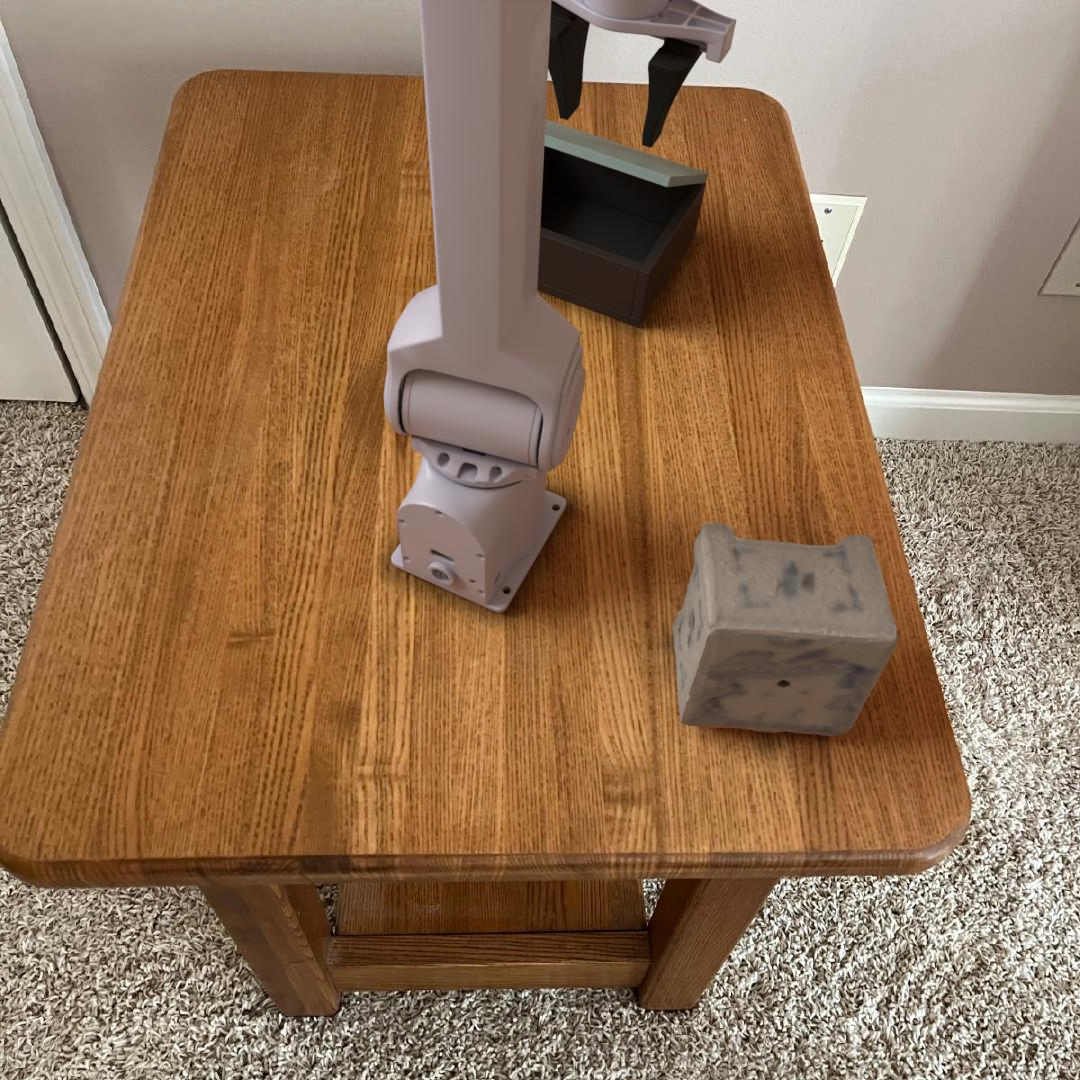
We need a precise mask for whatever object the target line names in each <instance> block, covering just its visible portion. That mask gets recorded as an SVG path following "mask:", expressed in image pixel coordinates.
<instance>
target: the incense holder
mask: <svg viewBox="0 0 1080 1080" xmlns="http://www.w3.org/2000/svg"><path fill="white" fill-rule="evenodd" d="M693 543H694V544H693V549H692V551H693V560H694V561H693V568H692V571H691V575H690V577H689V581H688V583H687V587H686V594H685V597H684V599H683V600H684V601H683V603H682V608H680V610H679V611H676V617H675V620H674V621H673V624H672V626H671V630H672V635H673V650H674V655H675V671H676V691H677V705H678V706H677V707H678V713H679V714H678V715H679V723H681V724H683V725H685V726H689V727H700V728H701V727H702V728H719V729H720V728H721V729H723V728H725V729H727V728H728V729H729V728H731V729H732V728H733V729H743V730H750V731H751V730H752V731H754V732H756V733H757V732H758V733H764V734H765V733H767V734H769V733H770V734H771V733H774V734H776V733H782V732H786V733H796V734H804V735H805V734H807V735H819V736H824V737H825V736H826V737H828V736H829V737H838V736H841V735H845V734H847V733H848V732H849V731H850V730H852V729H853V727H854V725H855V723H856V721H857V720H858V718H859V716H860V714H861V712H862V710H863V707H864V705H865V703H866V701H867V700H868V698H869V697H870V695H871V693H872V691H873V689H874V687H875V686H876V684H877V682H878V681H879V678H880V677H881V675H882V673H883V671H884V670H885V668H886V667H887V665H888V663H889V661H890V658H891V656H892V655H893V654H894V652H895V650H896V648H897V646H898V644H899V635H898V630H897V625H896V622H895V618H894V615H893V611H892V606H891V602H890V599H889V595H888V590H887V587H886V584H885V579H884V577H883V574H882V573H883V572H882V569H881V564H880V562H879V560H878V556H877V555H878V554H877V552H876V548H875V540H874V539H873V538H872V537H871V536H870V535H865V534H858V533H853V534H851V535H848V536H845V537H841V539H840V540H839V541H838V543H836V544H825V545H824V544H822V545H819V544H818V545H814V544H802V543H798V542H797V543H796V542H789V541H787V542H786V541H775V540H771V539H767V540H760V539H755V538H745V537H744V538H743V537H738V536H737V535H736V534H735V532H734V531H733V529H732V528H731V526H730V525H727V524H724V523H719V522H713V523H712V522H706V523H703V524H702V526H701V530H700V531H699V534H698V535H697V537H696V538H695V540H694V542H693Z"/></svg>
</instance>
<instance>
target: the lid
mask: <svg viewBox="0 0 1080 1080" xmlns="http://www.w3.org/2000/svg"><path fill="white" fill-rule="evenodd" d="M544 146H547V147H549V148H552V149H555V150H558V151H561V152H564V153H567V154H570V155H573V156H576V157H579V158H582V159H585V160H588V161H591V162H594V163H597V164H600V165H603V166H606V167H608V168H611V169H614V170H617V171H620V172H623V173H626V174H629V175H632V176H635V177H638V178H641V179H644V180H647V181H650V182H653V183H656V184H659V185H662V186H665V187H674V186H682V185H690V184H698V183H706V184H707V181H708V177H709V175H710V174H709V172H707V171H703V170H700V169H697V168H694V167H691V166H688V165H685V164H682V163H679V162H676V161H674V160H670V159H667V158H663V157H661V156H658V155H654V154H651V153H648V152H646V151H643V150H640V149H638V148H637V149H636V148H635V147H630V146H628V145H626V144H623V143H618V142H616V141H613V140H610V139H607V138H604V137H602V136H598V135H594V134H592V133H590V132H589V133H588V132H585V131H583V130H579V129H577V128H575V127H570V126H568V125H564V124H563V123H559V122H556V121H554V120H549V119H546V121H545V141H544Z"/></svg>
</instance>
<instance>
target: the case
mask: <svg viewBox="0 0 1080 1080" xmlns="http://www.w3.org/2000/svg"><path fill="white" fill-rule="evenodd" d="M706 186H707V182H706V183H698V184H690V185H682V186H674V187H665V186H662V185H659V184H656V183H653V182H650V181H647V180H644V179H641V178H638V177H635V176H632V175H629V174H626V173H623V172H620V171H617V170H614V169H611V168H608V167H606V166H603V165H600V164H597V163H594V162H591V161H588V160H585V159H582V158H579V157H576V156H573V155H570V154H567V153H564V152H561V151H558V150H555V149H552V148H549V147H547V146H544V162H543V182H542V203H541V223H540V244H539V264H538V285H537V291H539V292H542V293H545V294H547V295H549V296H552V297H555V298H558V299H561V300H563V301H566V302H569V303H571V304H574V305H576V306H579V307H581V308H585V309H586V310H587V309H588V310H590V311H593V312H595V313H598V314H601V315H604V316H606V317H609V318H612V319H614V320H616V321H619V322H623V323H625V324H627V325H631V326H633V327H635V328H638V329H639V328H640V327H641V326H642V325H643V323H644V321H645V319H646V318H647V316H648V315H649V313H650V311H651V309H652V308H653V307H654V305H655V303H656V301H657V300H658V298H659V297H660V295H661V294H662V292H663V290H664V288H666V285H667V283H668V282H669V280H670V279H671V277H672V275H673V274H674V272H675V270H676V269H677V267H678V266H679V264H680V262H681V261H682V259H683V258H684V256H685V255H686V253H687V251H688V250H689V248H690V246H691V245H692V243H693V241H694V239H695V237H696V233H697V228H698V224H699V219H700V215H701V210H702V205H703V201H704V196H705V191H706Z"/></svg>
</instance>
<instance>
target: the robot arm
mask: <svg viewBox="0 0 1080 1080" xmlns="http://www.w3.org/2000/svg"><path fill="white" fill-rule="evenodd" d="M418 9H419V10H418V12H419V25H420V41H421V56H422V71H423V86H424V102H425V118H426V131H427V149H428V161H429V179H430V180H429V181H430V190H431V191H430V193H431V194H430V195H431V208H432V222H433V238H434V239H433V240H434V241H433V242H434V253H435V254H434V255H435V271H436V272H435V273H436V284H434V285H432V286H429V287H427V288H425V289H422V290H421V291H419V292H417V293H415V295H414V296H413V297H412V298H411V299H410V300H409V301H408V303H407V304H406V306H405V308H404V309H403V311H402V312H401V314H400V315H399V317H398V319H397V320H396V324H395V326H394V327H393V331H391V335H390V336H389V337H390V338H389V340H388V342H387V346H386V347H387V348H386V357H387V359H386V360H387V361H386V363H387V369H386V370H387V372H386V376H385V380H384V381H385V382H384V390H383V408H384V413H385V414H384V415H385V416H386V419H387V421H388V423H389V426H390V428H391V429H392V431H393V432H394V433H396V434H399V435H404V436H408V435H410V439H411V440H410V441H411V450H412V451H414V452H417V453H419V454H421V459H420V460H421V461H420V463H419V468H418V471H417V474H416V477H415V479H414V482H413V484H412V485H411V487H410V489H409V490H408V493H407V495H406V496H405V498H404V499H403V500H402V502H401V503H400V505H399V506H398V509H397V512H396V524H397V532H398V538H399V544H398V546H397V547H396V549H395V550H394V551H393V553H392V554H391V557H390V560H391V564H392V566H393V567H396V568H397V569H399V570H402V571H404V572H406V573H408V574H411V575H413V576H415V577H417V578H419V579H422V580H423V581H426V582H428V583H430V584H433V585H434V586H437V587H439V588H441V589H443V590H445V591H448V592H450V593H453V594H455V595H457V596H459V597H461V598H462V599H463V598H464V599H466V600H468V601H471V602H472V603H474V604H477V605H478V606H481V607H483V608H486V609H488V610H490V611H492V612H494V613H497V614H502V613H503V612H505V611H506V610H508V607H509V606H510V604H511V602H512V600H513V599H514V597H515V595H516V594H517V592H518V591H519V588H520V587H521V585H522V583H523V582H524V580H525V578H526V576H527V575H528V574H529V571H530V570H531V568H532V566H533V565H534V563H535V561H536V559H537V558H538V556H539V554H540V552H541V551H542V549H543V548H544V546H545V545H546V542H547V540H548V539H549V538H550V536H551V534H552V532H553V531H554V529H555V528H556V526H557V523H558V522H559V520H560V519H561V517H562V515H563V514H564V512H565V510H566V508H567V505H568V502H567V499H566V498H565V497H563V496H562V495H559V494H557V493H554V492H552V491H549V490H547V489H546V487H547V473H548V472H549V473H550V472H552V471H553V470H554V469H555V468H557V467H558V466H560V465H562V464H563V463H564V461H565V459H566V457H567V454H568V452H569V449H570V446H571V444H572V441H573V437H574V434H575V431H576V428H577V423H578V420H579V416H580V412H581V406H582V402H583V397H584V391H585V383H586V370H585V368H584V366H583V355H584V347H583V345H582V344H581V337H582V334H581V332H580V331H579V330H578V328H577V327H576V326H575V325H573V324H572V322H570V321H569V319H567V318H566V317H565V316H564V315H562V314H561V313H560V312H559V311H558V310H557V309H556V308H555V307H554V306H552V305H551V304H550V303H549V302H548V301H546V300H545V298H544V297H542V296H541V295H540V293H538V290H537V285H538V264H539V244H540V223H541V203H542V182H543V162H544V141H545V121H546V120H547V119H546V117H547V99H548V98H547V97H548V77H549V75H550V79H551V83H552V86H553V91H554V94H555V100H556V105H557V111H558V117H559V119H562V120H565V121H568V120H569V119H570V118H571V117H572V116H573V114H574V113H575V112H576V111H577V110H578V108H579V107H580V104H581V98H582V94H583V81H584V79H583V78H584V61H585V55H586V47H587V40H588V34H589V30H590V25H593V26H595V27H597V28H600V29H602V30H605V31H609V32H614V33H619V34H620V33H621V34H630V35H640V36H649V37H653V38H655V39H658V40H662V41H663V44H662V45H661V47H658V49H657V50H656V51H655V53H654V55H653V56H652V57H651V58H650V60H649V61H648V62H647V75H648V77H647V78H648V93H647V95H648V96H647V108H646V113H645V119H644V123H643V128H642V129H643V130H642V136H641V146H643V147H646V148H649V149H650V148H653V146H654V145H655V144H656V142H657V141H658V140H659V138H660V136H661V135H662V133H663V129H664V125H665V123H666V120H667V117H668V115H669V113H670V110H671V108H672V105H673V103H674V101H675V99H676V97H677V96H678V93H679V92H680V89H682V86H683V84H684V82H685V81H686V79H687V77H688V76H689V74H690V73H691V71H692V69H693V68H694V66H695V64H696V63H697V62H698V60H699V59H700V57H701V56H702V55H703V53H704V54H705V59H706V60H707V61H710V62H714V63H716V64H721V63H722V62H723V61H724V60H725V57H727V55H728V54H729V52H730V50H731V49H732V44H733V39H734V34H735V28H736V25H737V20H736V19H735V18H732V17H730V16H726V15H724V14H722V13H718V12H717V11H714V10H712V9H710V8H708V7H707V6H705V5H703V4H701V3H699V1H696V0H418ZM555 508H556V509H558V510H555ZM505 591H509V593H505Z"/></svg>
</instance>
